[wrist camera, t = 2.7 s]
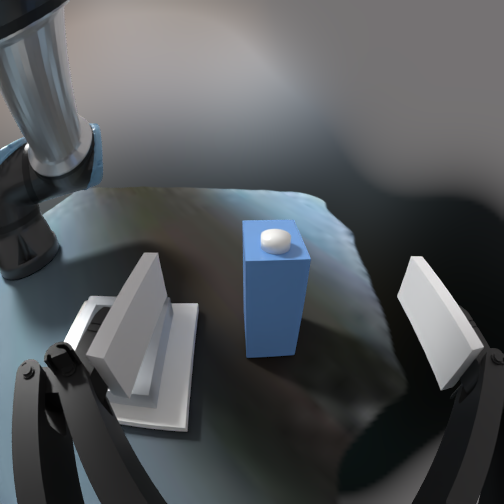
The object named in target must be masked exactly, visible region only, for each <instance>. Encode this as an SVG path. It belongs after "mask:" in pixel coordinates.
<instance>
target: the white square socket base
mask: <svg viewBox="0 0 504 504" xmlns="http://www.w3.org/2000/svg"><path fill="white" fill-rule="evenodd" d="M116 298H117V297H110V296H90V297H89V299H88V301H84V303H83V305H82V307H81V309H80V311H79V313H78V314H77V316H76V318H75V320H74V322H73V324H72V326H71V328H70V330H69V332H68V334H67V337H66V339H65V341H64V342H67V343H69V344H70V345H71V346H72V348H73V349H74V351H75V349H76V347H77V345H78V344H79V342H80V340H81V338H82V336H83V334H84V333H85V331H87V330H86V329H87V327H88V326H89V324H90V322H91V320H92V319H93V317H94V315H95V314H96V313H97V312H98V311H99V310H100V309H101V308H102V307H112V305H113V303H114V301H115V300H116ZM198 313H199V307H198V303H171V300H170V297H166V300H165V302H164V305H163V307H162V310H161V312H160V315H159V318H158V320H157V323H156V325H155V328H154V331H153V333H152V336H151V339H150V342H149V344H148V347H147V350H146V353H145V355H144V358H143V361H142V364H141V367H140V370H139V373H138V375H137V378H136V381H135V384H134V387H133V390H132V394H131V397H130V399H127V398H122V397H118V396H114V395H113V394H112V393H111V391H110V390H109V389H108V391H107V394H106V397H107V398H108V400H109V402H110V404H111V407H112V409H113V411H114V413H115V415H116V417H117V420H118V422H119V424H123V425H129V426H136V427H143V428H151V429H160V430H170V431H183V432H188V417H189V403H190V391H191V379H192V368H193V358H194V348H195V339H196V330H197V321H198Z"/></svg>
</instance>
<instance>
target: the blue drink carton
mask: <svg viewBox="0 0 504 504" xmlns="http://www.w3.org/2000/svg"><path fill="white" fill-rule="evenodd" d="M310 261H311V258H310V256H309V254H308V251H307V249H306V247H305V244H304V242H303V240H302V237H301V235H300V233H299V230H298V228H297V226H296V224H295V221H294V220H246V221H243V285H244V322H245V339H246V357H247V358H254V357H273V356H287V355H295V350H296V345H297V340H298V334H299V329H300V323H301V318H302V312H303V306H304V300H305V294H306V288H307V281H308V275H309V268H310Z"/></svg>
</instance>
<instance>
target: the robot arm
mask: <svg viewBox="0 0 504 504" xmlns="http://www.w3.org/2000/svg"><path fill="white" fill-rule="evenodd" d="M69 1H70V0H0V92H1V95H2V97H3V98H4V101H5V103H6V105H7V106H8V108H9V110H10V112H11V114H12V116H13V118H14V120H15V122H16V123H17V125H18V127H19V128H20V130H21V132H22V134H23V135H24V137H25V138H24V137H23V138H21V139H18V140H16V141H14V142H13V143H11V144H9V145H7V146H5V147H3V148H1V149H0V272H1V274H2V276H3V277H4V278H5V279H9V280H14V279H20V278H23V277H26V276H28V275H30V274H32V273H34V272H36V271H38V270H39V269H41V268H42V267H44V266H45V265H46V264H47V263H49V262H50V261H51V260H52V259H53V257H54V256H55V255H56V253H57V252H58V249H59V243H58V240H57V237H56V235H55V233H54V232H53V231H52V230H51V229H50V227H49V225H48V224H47V222H46V220H45V219H44V217H43V216H42V214H41V211H40V208H39V204H38V203H41V202H44V201H47V200H50V199H53V198H56V197H59V196H62V195H66V194H69V193H73V192H76V191H80V190H87V189H88V188H90V187H93V186H96V185H98V184H99V183H100V182H101V181H102V177H103V162H102V141H101V132H100V127H99V125H98V124H89V123H88V122H87V120H86V119H85V118H83V117H82V116H80V115H78V111H77V106H76V102H75V97H74V92H73V86H72V81H71V74H70V67H69V60H68V52H67V43H66V33H65V19H64V6H65V5H66V4H67V3H68V2H69ZM27 142H28V143H27ZM166 297H167V293H166V288H165V284H164V279H163V275H162V270H161V265H160V261H159V256H158V253H144V254H143V255H142V257H141V258H140V260H139V262H138V263H137V265H136V266H135V268H134V270H133V271H132V273H131V274H130V276H129V278H128V279H127V281H126V283H125V284H124V286H123V288H122V289H121V291H120V293H119V294H118V296H117V298H116V300H115V301H114V303H113V305H112V307H102V308H101V309H100V310H99V311H98V312H97V313H96V314H95V315H94V317H93V319H92V320H91V322H90V324H89V326H88V327H87V329H86V330H87V331H85V333H84V334H83V336H82V338H81V340H80V342H79V344H78V345H77V347H76V349H75V351H74V349H73V348H72V346H71V345H70V344H69V343H67V342H58V343H55V344H54V345H52V346H50V348H49V349H48V350H47V351H46V353H45V356H44V362H45V363H46V364H47V366H48V367H41V366H40V364H39V363H38V362H37V361H36V360H34V359H29V360H26V361H24V362H23V363H22V364H21V365H20V366H19V368H18V370H17V374H16V381H15V390H14V401H13V416H12V457H13V472H14V482H15V490H16V497H17V503H18V504H84V500H83V496H82V492H81V487H80V483H79V478H78V472H77V467H76V461H75V454H74V447H73V442H74V444H75V447H76V450H77V452H78V455H79V457H80V460H81V462H82V465H83V467H84V469H85V472H86V474H87V476H88V478H89V481H90V483H91V485H92V487H93V489H94V491H95V493H96V495H97V497H98V499H99V501H100V502H101V504H167V503H166V501H165V500H164V498H163V497H162V496H161V494H160V493H159V491H158V490H157V488H156V487H155V485H154V484H153V482H152V481H151V479H150V478H149V476H148V474H147V473H146V471H145V470H144V468H143V466H142V465H141V463H140V461H139V460H138V458H137V456H136V454H135V452H134V451H133V449H132V447H131V445H130V443H129V441H128V440H127V438H126V436H125V434H124V432H123V430H122V428H121V426H120V424H119V422H118V420H117V417H116V415H115V413H114V411H113V409H112V407H111V404H110V402H109V400H108V398H107V397H106V394H107V391H108V389H109V390H110V391H111V393H112V394H113V395H114V396H118V397H122V398H127V399H130V397H131V394H132V390H133V387H134V384H135V381H136V378H137V375H138V373H139V370H140V367H141V364H142V361H143V358H144V355H145V353H146V350H147V347H148V344H149V342H150V339H151V336H152V333H153V331H154V328H155V325H156V323H157V320H158V318H159V315H160V312H161V310H162V307H163V305H164V302H165V300H166ZM398 299H399V301H400V303H401V304H402V306H403V308H404V310H405V312H406V314H407V316H408V318H409V320H410V322H411V324H412V326H413V328H414V330H415V332H416V334H417V336H418V338H419V340H420V342H421V345H422V347H423V349H424V351H425V353H426V356H427V358H428V360H429V362H430V365H431V367H432V369H433V372H434V374H435V376H436V379H437V381H438V384H439V386H440V389H441V390H443V389H447V388H450V387H453V386H454V385H455V384H456V383H457V381H458V380H459V379H460V380H461V383H462V384H461V385H460V386H459V387H458V389H457V390H456V391H455V392H454V393H453V394H452V395H451V399H452V398H453V397H454V396H455V395H456V394H457V396H456V398H455V403H454V406H453V410H452V413H451V416H450V419H449V422H448V425H447V428H446V430H445V433H444V436H443V438H442V441H441V444H440V446H439V449H438V451H437V454H436V456H435V458H434V461H433V463H432V465H431V467H430V469H429V472H428V474H427V476H426V478H425V480H424V482H423V484H422V486H421V487H420V489H419V491H418V493H417V495H416V497H415V499H414V500H413V502H412V504H476V503H477V500H478V498H479V495H480V498H479V503H478V504H504V354H503V353H502V352H501V351H499V350H498V349H495V348H491V349H490V347H489V346H488V344H487V342H486V340H485V339H484V337H483V335H482V334H481V332H480V331H479V329H478V327H476V324H475V323H474V321H473V320H472V318H471V316H470V315H469V313H468V312H467V311H466V310H465V309H463V308H462V307H461V306H458V305H457V303H456V302H455V300H454V299H453V297H452V296H451V294H450V293H449V292H448V290H447V289H446V288H445V286H444V285H443V283H442V282H441V281H440V279H439V278H438V277H437V275H436V274H435V273H434V271H433V270H432V269H431V267H430V266H429V265H428V263H427V262H426V261H425V260H424V258H423V257H418V256H416V257H414V256H413V257H411V259H410V262H409V265H408V268H407V271H406V274H405V277H404V280H403V283H402V285H401V288H400V291H399V294H398Z"/></svg>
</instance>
